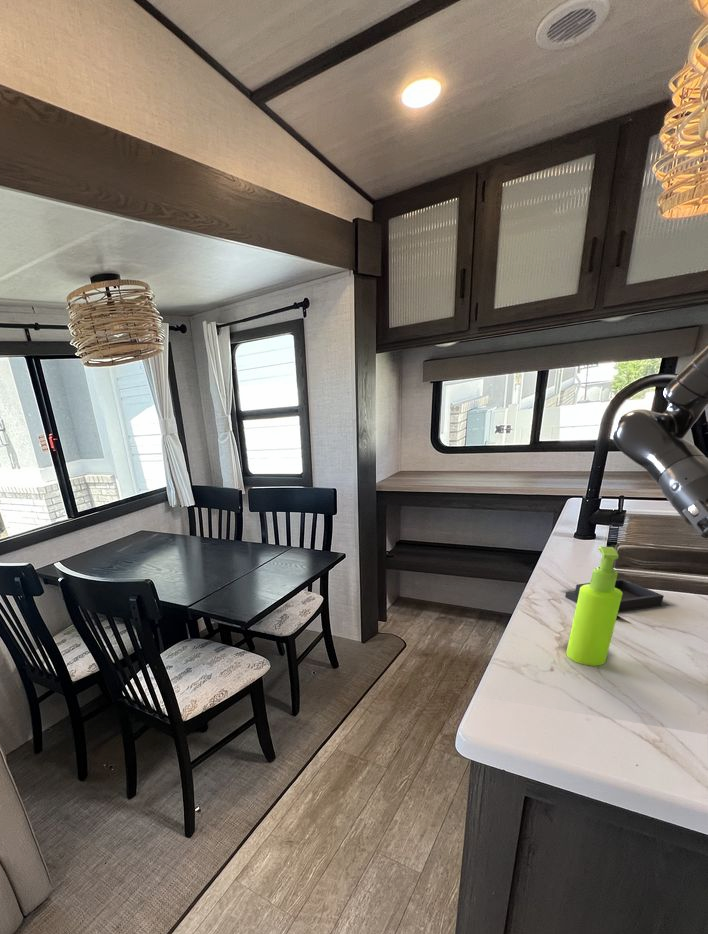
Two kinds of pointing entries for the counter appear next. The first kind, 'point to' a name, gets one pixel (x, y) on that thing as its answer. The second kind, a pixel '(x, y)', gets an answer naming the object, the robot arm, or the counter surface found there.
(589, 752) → the counter surface
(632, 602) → the black square tray
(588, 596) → the soap dispenser
